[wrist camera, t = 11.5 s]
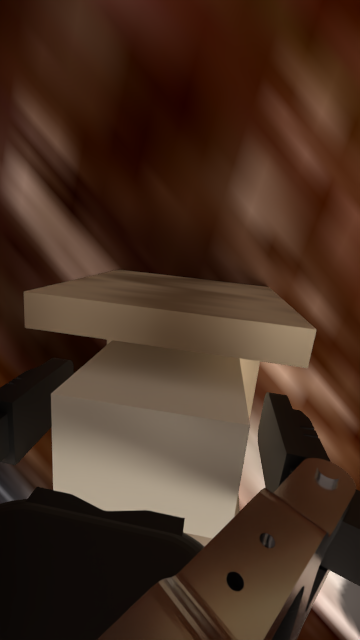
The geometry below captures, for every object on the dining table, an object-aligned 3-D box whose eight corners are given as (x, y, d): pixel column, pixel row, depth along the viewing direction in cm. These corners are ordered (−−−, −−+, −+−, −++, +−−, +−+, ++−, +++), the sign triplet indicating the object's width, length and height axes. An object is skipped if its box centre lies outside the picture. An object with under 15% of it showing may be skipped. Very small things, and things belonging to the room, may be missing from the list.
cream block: (137, 318, 17) (51, 393, 8) (235, 330, 16) (250, 425, 8) (133, 381, 18) (53, 506, 9) (225, 395, 17) (229, 541, 9)
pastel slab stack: (102, 615, 26) (37, 819, 17) (118, 269, 18) (13, 294, 9) (205, 641, 25) (196, 871, 16) (268, 286, 17) (322, 334, 8)
